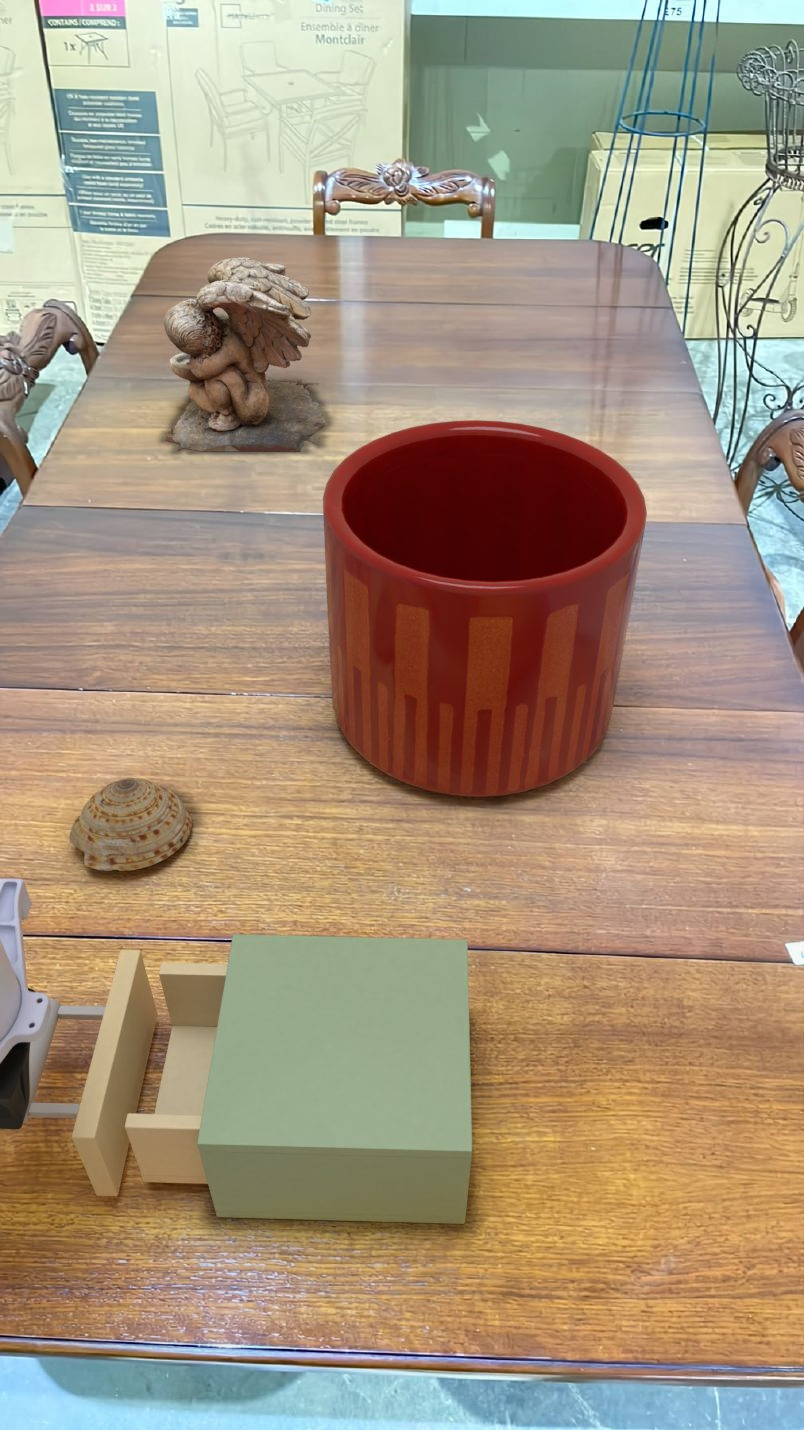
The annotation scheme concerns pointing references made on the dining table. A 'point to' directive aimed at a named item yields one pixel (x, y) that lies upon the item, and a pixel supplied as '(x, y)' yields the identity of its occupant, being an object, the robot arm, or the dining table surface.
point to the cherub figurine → (242, 361)
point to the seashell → (130, 826)
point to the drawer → (140, 1074)
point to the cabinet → (341, 1081)
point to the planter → (478, 602)
